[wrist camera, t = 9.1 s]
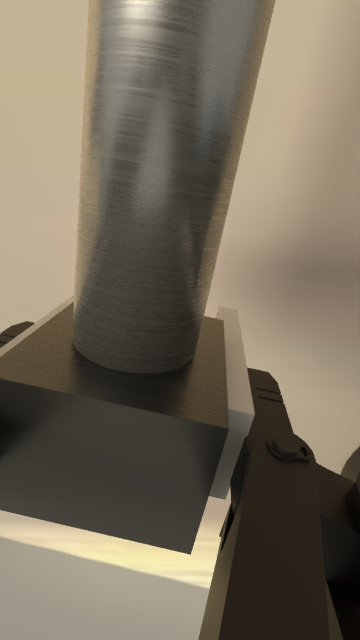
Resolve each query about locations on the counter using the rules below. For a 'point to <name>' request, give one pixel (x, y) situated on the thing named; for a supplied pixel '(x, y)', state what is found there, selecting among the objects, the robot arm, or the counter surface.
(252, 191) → the counter surface
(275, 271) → the counter surface
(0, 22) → the counter surface
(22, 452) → the shaft
